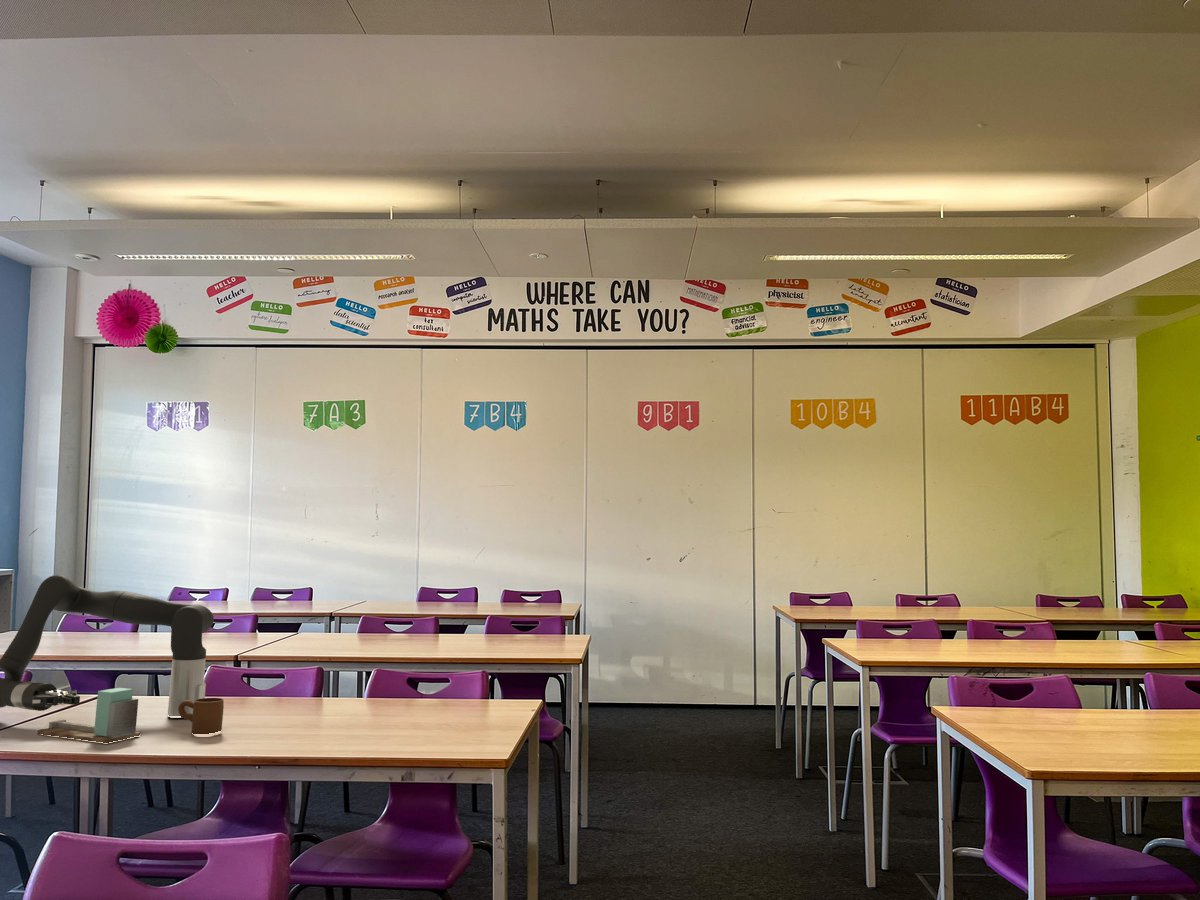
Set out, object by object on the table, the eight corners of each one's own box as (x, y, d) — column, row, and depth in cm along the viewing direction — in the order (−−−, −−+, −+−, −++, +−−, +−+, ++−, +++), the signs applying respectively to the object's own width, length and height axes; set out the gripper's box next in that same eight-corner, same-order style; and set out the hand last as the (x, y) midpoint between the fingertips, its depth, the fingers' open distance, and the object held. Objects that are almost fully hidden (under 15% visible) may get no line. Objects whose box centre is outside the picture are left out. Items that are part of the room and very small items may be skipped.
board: (37, 734, 223) (37, 730, 224) (72, 727, 233) (72, 723, 233) (106, 744, 214) (106, 739, 214) (139, 737, 223) (140, 732, 223)
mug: (169, 737, 224) (172, 701, 225) (183, 731, 231) (186, 696, 232) (213, 738, 224) (216, 702, 225) (226, 732, 231) (228, 697, 232)
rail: (43, 729, 225) (46, 695, 226) (67, 724, 231) (71, 691, 233) (111, 738, 215) (115, 703, 217) (135, 733, 222) (138, 699, 223)
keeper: (93, 734, 218) (98, 691, 220) (115, 730, 224) (119, 687, 226) (107, 736, 217) (111, 692, 218) (129, 731, 222) (132, 689, 224)
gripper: (11, 685, 227) (55, 689, 221) (57, 678, 239) (100, 682, 233) (8, 713, 226) (52, 718, 220) (55, 705, 238) (98, 710, 232)
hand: (77, 700), depth 227 cm, fingers closed
